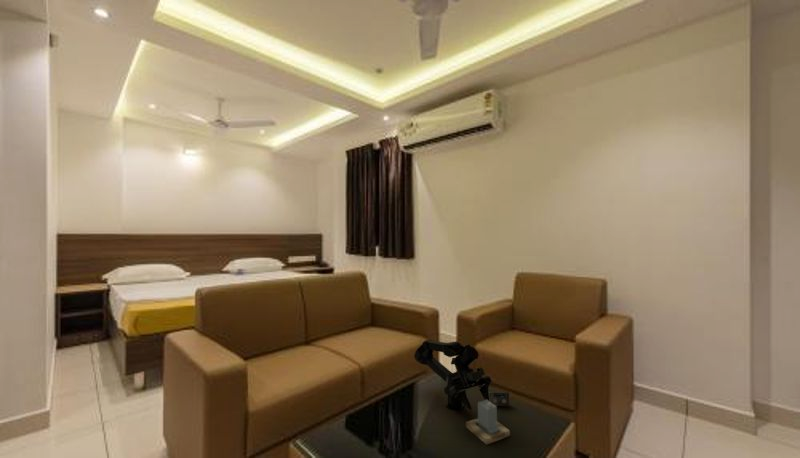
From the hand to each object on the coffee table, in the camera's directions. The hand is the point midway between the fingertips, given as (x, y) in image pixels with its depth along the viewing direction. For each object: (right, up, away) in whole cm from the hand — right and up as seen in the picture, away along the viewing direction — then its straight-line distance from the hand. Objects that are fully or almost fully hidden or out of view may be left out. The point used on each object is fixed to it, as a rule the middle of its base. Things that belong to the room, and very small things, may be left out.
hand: (480, 406), depth 144 cm
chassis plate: (+2, -8, -3) cm, 9 cm away
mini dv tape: (+12, -7, +16) cm, 21 cm away
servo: (+2, -8, -3) cm, 9 cm away
